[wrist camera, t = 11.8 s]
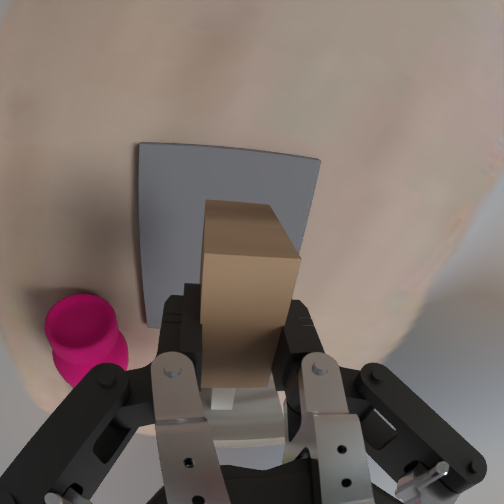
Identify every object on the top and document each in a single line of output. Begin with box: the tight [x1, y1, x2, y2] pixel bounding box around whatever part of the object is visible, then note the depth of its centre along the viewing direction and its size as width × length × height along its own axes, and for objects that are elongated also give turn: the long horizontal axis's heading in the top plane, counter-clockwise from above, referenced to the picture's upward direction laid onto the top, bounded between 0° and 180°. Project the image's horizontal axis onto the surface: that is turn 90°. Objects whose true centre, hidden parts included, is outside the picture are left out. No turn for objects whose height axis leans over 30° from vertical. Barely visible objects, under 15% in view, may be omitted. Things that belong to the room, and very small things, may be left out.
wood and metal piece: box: [199, 199, 301, 448], centre depth 13 cm, size 12×7×5 cm, turn 171°
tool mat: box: [139, 142, 321, 328], centre depth 22 cm, size 16×12×1 cm
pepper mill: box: [45, 294, 128, 388], centre depth 25 cm, size 7×7×20 cm
